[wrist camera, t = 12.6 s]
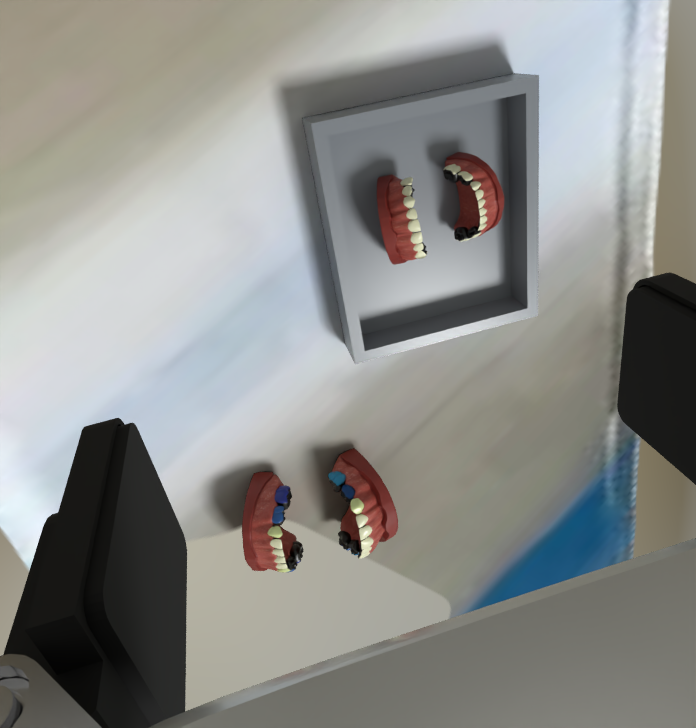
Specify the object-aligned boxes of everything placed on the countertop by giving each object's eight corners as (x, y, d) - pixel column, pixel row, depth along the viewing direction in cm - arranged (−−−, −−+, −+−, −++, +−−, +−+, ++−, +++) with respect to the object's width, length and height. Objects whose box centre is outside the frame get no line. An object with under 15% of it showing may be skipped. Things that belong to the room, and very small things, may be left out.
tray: (302, 118, 34) (311, 123, 32) (514, 73, 36) (538, 75, 33) (345, 345, 42) (355, 364, 40) (517, 300, 44) (537, 315, 41)
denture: (516, 242, 36) (396, 283, 36) (488, 227, 40) (378, 263, 39) (505, 151, 33) (375, 194, 33) (475, 144, 37) (358, 182, 37)
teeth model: (235, 535, 40) (399, 493, 42) (229, 475, 46) (375, 440, 47) (257, 609, 45) (404, 568, 47) (248, 547, 50) (381, 513, 52)
